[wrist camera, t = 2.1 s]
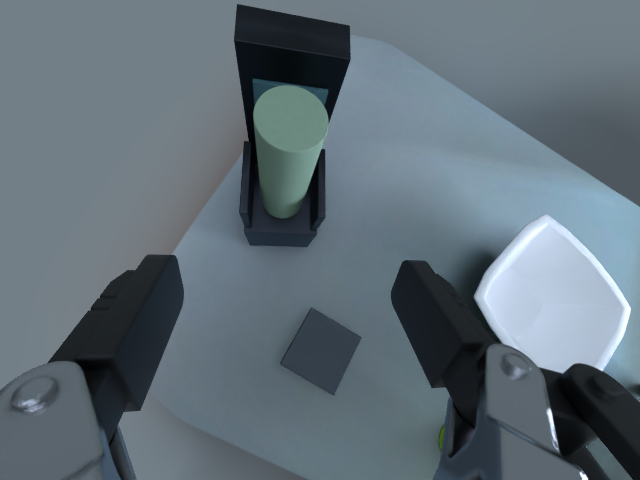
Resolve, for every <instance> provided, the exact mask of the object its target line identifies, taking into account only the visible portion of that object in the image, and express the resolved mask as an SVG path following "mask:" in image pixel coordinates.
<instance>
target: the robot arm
mask: <svg viewBox="0 0 640 480" xmlns="http://www.w3.org/2000/svg"><path fill="white" fill-rule="evenodd" d="M458 295H459V294H458V293H457V292H456V291H455V289H454V288H453V287H452V285H451V284H450V283H449V282H447V281H446V280H445V279H444V278H442V277H441V276H440V275H438V274H435V272H434V271H433V270H432V268H431V267H430V266H429V264H428V263H427V262H426V261H419V260H405V261H403V262H402V264H401V266H400V269H399V272H398V274H397V277H396V279H395V282H394V285H393V287H392V290H391V301H392V305H393V307H394V309H395V311H396V313H397V316H398V318H399V320H400V322H401V324H402V326H403V328H404V330H405V332H406V335H407V337H408V339H409V341H410V343H411V345H412V347H413V349H414V351H415V354H416V356H417V358H418V360H419V362H420V364H421V366H422V368H423V370H424V373H425V375H426V377H427V379H428V381H429V383H430V385H431V387H432V388H440V387H446V388H447V390H448V392H449V394H450V397H449V399H448V404H447V411H446V419H445V427H444V435H443V442H442V450H441V457H440V462H439V466H438V468H437V471H436V473H435V475H434V477H433V480H610V478H609V477H608V476H607V475H606V473H605V472H604V471H603V469H602V468H601V467H600V465H599V464H598V463H597V461H596V460H595V459H594V457H593V456H592V455H591V453H590V452H589V451H588V450H587V448H586V447H585V446H586V445H588V444H590V443H591V442H593V441H595V440H596V439H598V438H599V439H600V440H601V441H602V442H603V443H604V445H605V446H606V447H607V448H608V450H609V451H610V452H611V453H612V455H613V456H614V457H615V458H616V459H617V461H618V462H619V463H620V464H621V466H622V467H623V468H624V469H625V470H626V472H627V473H628V474H629V475H630V477H631V478H632V479H633V480H640V402H639V401H638V400H637V399H636V398H634V397H633V396H632V395H631V394H630V393H629V392H628V391H627V390H626V389H625V388H624V387H623V386H622V385H621V384H620V383H619V382H617V381H616V380H615V379H613V378H612V377H611V376H609V375H608V374H606V373H604V372H603V371H601V370H599V369H597V368H595V367H593V366H590V365H587V364H582V363H575V364H573V365H572V366H571V367H569V368H568V369H567V370H566V371H565V372H564V373H559V372H556V371H552V370H548V369H544V368H540V367H538V366H537V365H536V364H535V363H534V362H533V361H532V360H531V359H530V358H529V357H528V356H526V355H525V354H524V353H522V352H521V351H519V350H517V349H515V348H513V347H511V346H508V345H505V344H497V343H496V341H495V340H494V339H493V338H492V336H491V335H490V334H489V333H488V331H487V330H486V329H485V327H484V326H483V325H482V324H481V322H480V321H479V320H478V319H477V317H476V316H475V315H474V313H473V312H472V311H471V310H470V308H469V307H468V306H466V303H465V302H464V301H463V299H462V298H461V297H459V296H458ZM183 300H184V289H183V284H182V279H181V275H180V270H179V265H178V261H177V258H176V256H175V255H147V256H146V257H145V258H144V259H143V261H142V262H141V264H140V265H139V266H138V268H137V269H136V270H127V271H126V272H124V273H123V274H122V275H120V276H119V277H117V278H116V279H114V280H113V281H111V282H110V284H109V285H108V286H107V287H106V289H105V290H104V292H103V293H102V294H101V295H100V299H97V300H96V301H95V303H94V304H93V305H92V307H91V310H90V311H88V312H87V313H86V314H85V316H84V317H83V318H82V319H81V321H80V322H79V324H78V325H77V326H76V327H75V328H74V330H73V331H72V332H71V334H70V335H69V336H68V337H67V339H66V340H65V341H64V342H63V344H62V345H61V346H60V348H59V349H58V350H57V351H56V353H55V354H54V355H53V357H52V358H51V359H50V360H49V362H48V363H47V364H44V365H41V366H39V367H36V368H33V369H31V370H29V371H27V372H25V373H23V374H22V375H20V376H18V377H17V378H15V379H14V380H13V381H11V382H10V383H8V384H7V385H6V386H5V387H4V388H2V389H1V390H0V480H137V479H136V476H135V473H134V470H133V467H132V464H131V461H130V458H129V455H128V451H127V448H126V445H125V442H124V439H123V436H122V433H121V430H120V428H119V426H118V423H119V421H120V419H121V416H122V414H123V412H127V411H128V412H129V411H140V410H141V407H142V405H143V402H144V400H145V398H146V395H147V393H148V390H149V388H150V385H151V383H152V380H153V378H154V375H155V373H156V370H157V368H158V365H159V363H160V360H161V358H162V355H163V353H164V351H165V348H166V346H167V343H168V341H169V338H170V336H171V333H172V331H173V328H174V326H175V323H176V321H177V318H178V316H179V313H180V311H181V308H182V305H183Z"/></svg>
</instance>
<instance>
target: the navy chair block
mask: <svg viewBox="0 0 640 480" xmlns="http://www.w3.org/2000/svg"><path fill="white" fill-rule="evenodd" d="M235 24H236V25H235V35H234V42H235V49H236V56H237V63H238V70H239V77H240V84H241V91H242V98H243V104H244V111H245V118H246V125H247V131H248V138H249V142H248V141H244V150H243V165H242V180H241V195H240V209H239V213H240V216H241V218H242V221H243V223H244V233H245V235H246V237H247V239H248V242H249V244H250V245H265V246H295V247H308V245H309V244H310V243H311V241H312V240H313V239H314V237H315V236H316V235H317V228H318V227H319V226H320V224H321V223H322V221H323V220H324V219H325V149H321V151H320V154H319V157H318V160H317V163H316V166H315V169H314V172H313V174H312V177H311V180H310V183H309V186H308V189H307V192H306V195H305V198H304V200H303V203H302V206H301V208H300V210H299V211H298V212H297V213H296V214H295V215H294V216H292V217H289V218H277V217H274V216H272V215H270V214H269V213H268V212H267V211H266V210H265V208H264V207H263V204H262V199H261V189H260V179H259V169H258V159H257V150H256V140H255V130H254V120H253V112H254V107H255V104H256V102H257V100H258V99H259V98H260V96H261V95H262V94H263V93H265V92H266V91H268V90H269V89H271V88H274V87H277V86H283V85H290V86H297V87H300V88H303V89H305V90H307V91H309V92H311V93H312V94H314V95H315V96H316V97H317V98H318V99H319V100H320V101H321V102H322V104H323V105H324V107H325V109H326V112H327V115H328V120H329V122H330V119H331V116H332V113H333V110H334V107H335V104H336V101H337V98H338V95H339V92H340V89H341V86H342V83H343V80H344V77H345V74H346V71H347V68H348V66H349V63H350V60H351V57H350V26H349V25H343V24H338V23H333V22H327V21H323V20H318V19H312V18H307V17H302V16H296V15H291V14H286V13H281V12H275V11H270V10H265V9H260V8H255V7H250V6H244V5H239V4H238V5H237V11H236V23H235Z"/></svg>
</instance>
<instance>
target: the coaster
mask: <svg viewBox="0 0 640 480" xmlns="http://www.w3.org/2000/svg"><path fill="white" fill-rule="evenodd" d="M360 340H361V337H360V336H358V335H356V334H355V333H353V332H351V331H350V330H348V329H346V328H345V327H343V326H341V325H340V324H338V323H336V322H335V321H333V320H331V319H330V318H328V317H326V316H325V315H323V314H321V313H320V312H318V311H316V310H315V309H313V308H311V309H310V311H309V313H308V314H307V316H306V318H305V320H304V322H303V323H302V325H301V327H300V329H299V331H298V332H297V334H296V336H295V338H294V340H293V341H292V343H291V345H290V347H289V349H288V350H287V352H286V354H285V356H284V357H283V359H282V361H281V363H280V364H281V365H282V366H284V367H286V368H287V369H289V370H291V371H293V372H294V373H296V374H298V375H300V376H301V377H303V378H305V379H306V380H308V381H310V382H312V383H313V384H315V385H317V386H319V387H320V388H322V389H324V390H325V391H327V392H329V393H331V394H332V395H334V393H335V391H336V389H337V387H338V385H339V383H340V381H341V379H342V377H343V375H344V373H345V371H346V369H347V367H348V364H349V362H350V360H351V358H352V356H353V354H354V352H355V350H356V348H357V346H358V344H359V342H360Z"/></svg>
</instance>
